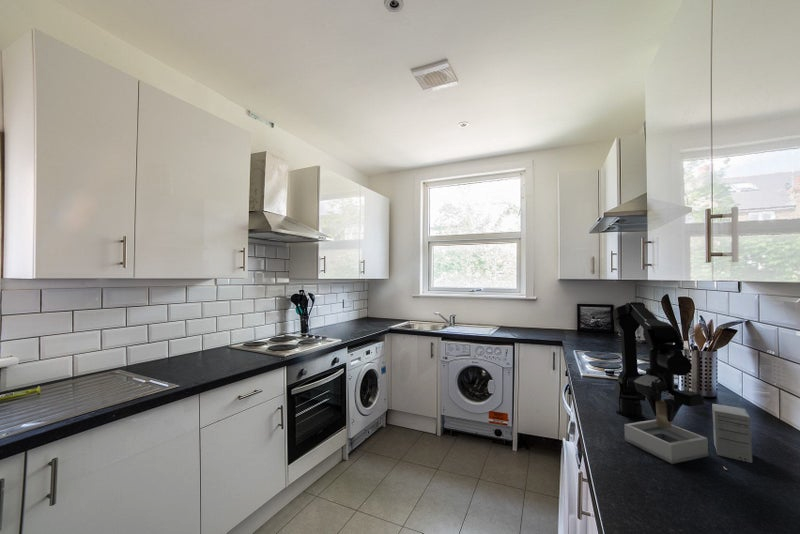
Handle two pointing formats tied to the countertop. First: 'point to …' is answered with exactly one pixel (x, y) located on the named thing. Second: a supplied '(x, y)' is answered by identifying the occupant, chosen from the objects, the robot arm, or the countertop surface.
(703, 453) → the grey box
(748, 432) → the supplement box
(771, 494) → the countertop surface
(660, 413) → the wooden peg
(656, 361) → the robot arm
